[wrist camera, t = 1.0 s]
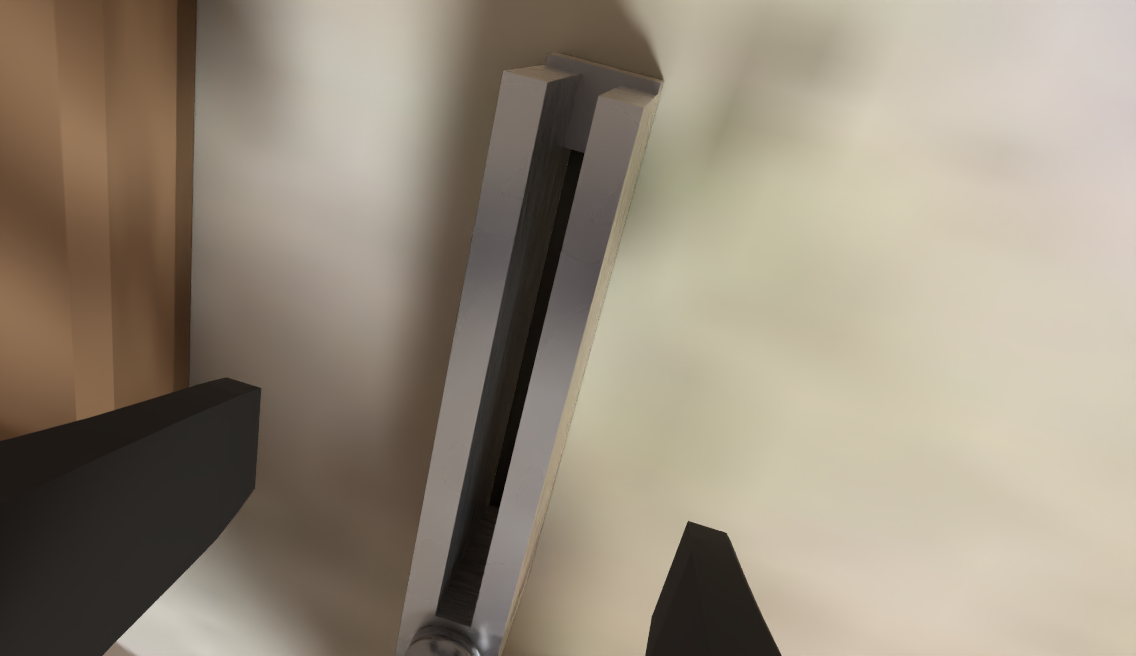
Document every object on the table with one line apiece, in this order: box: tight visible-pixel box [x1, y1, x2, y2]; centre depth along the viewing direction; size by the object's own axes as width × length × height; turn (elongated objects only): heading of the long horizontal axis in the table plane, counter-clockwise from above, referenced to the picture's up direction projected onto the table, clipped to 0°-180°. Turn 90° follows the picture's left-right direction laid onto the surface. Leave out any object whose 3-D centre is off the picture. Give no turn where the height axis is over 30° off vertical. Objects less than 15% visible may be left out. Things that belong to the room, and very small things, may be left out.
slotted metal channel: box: [395, 53, 664, 656], centre depth 15 cm, size 13×2×4 cm, turn 167°
